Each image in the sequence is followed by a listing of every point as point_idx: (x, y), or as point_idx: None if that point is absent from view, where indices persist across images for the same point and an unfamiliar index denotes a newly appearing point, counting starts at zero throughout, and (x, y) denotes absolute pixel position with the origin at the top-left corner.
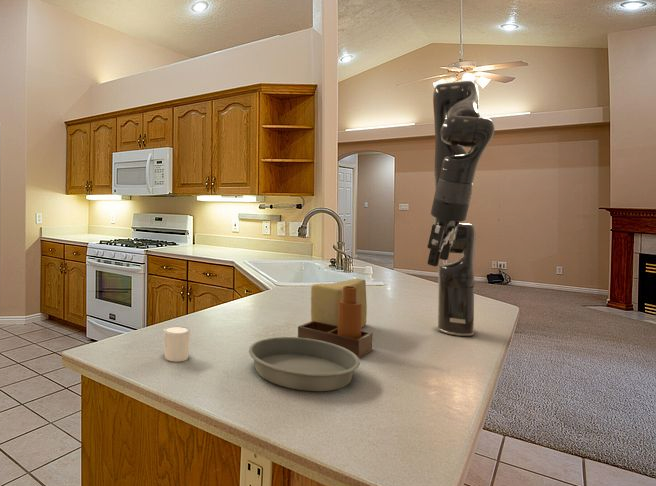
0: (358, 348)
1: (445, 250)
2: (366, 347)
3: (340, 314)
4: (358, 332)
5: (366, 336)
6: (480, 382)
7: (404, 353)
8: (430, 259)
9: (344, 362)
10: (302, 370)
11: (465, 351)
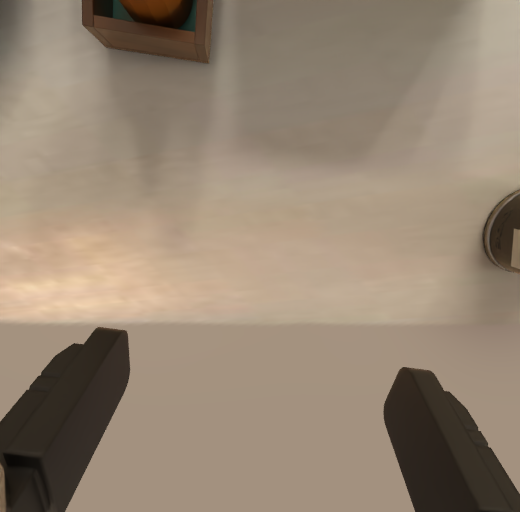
0: (93, 34)
1: (424, 481)
2: (158, 50)
3: None
4: (127, 3)
5: (150, 36)
6: (151, 313)
7: (242, 148)
8: (44, 378)
9: None
10: None
11: (354, 268)
